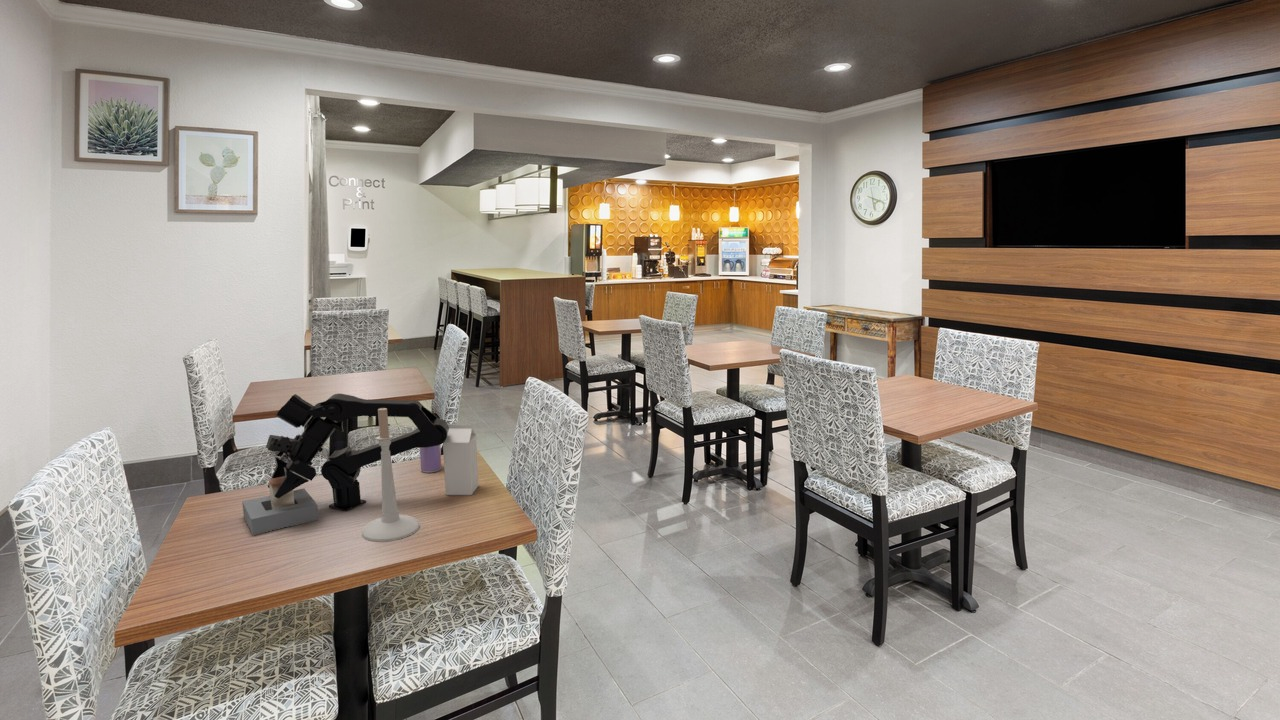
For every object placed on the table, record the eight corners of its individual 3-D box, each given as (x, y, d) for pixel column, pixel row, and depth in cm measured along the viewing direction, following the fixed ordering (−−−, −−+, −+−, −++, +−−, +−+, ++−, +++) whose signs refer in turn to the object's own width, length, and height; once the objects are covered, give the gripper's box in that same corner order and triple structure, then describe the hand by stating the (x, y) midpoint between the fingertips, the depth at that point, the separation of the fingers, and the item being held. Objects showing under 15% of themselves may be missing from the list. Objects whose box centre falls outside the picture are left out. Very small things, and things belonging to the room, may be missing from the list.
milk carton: (471, 495, 173) (468, 427, 170) (445, 495, 173) (441, 427, 170) (478, 486, 180) (475, 420, 177) (453, 486, 180) (449, 420, 177)
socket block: (305, 502, 168) (304, 488, 167) (318, 519, 157) (317, 504, 157) (243, 516, 159) (242, 501, 159) (253, 535, 149) (251, 519, 148)
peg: (292, 513, 161) (288, 475, 160) (296, 518, 158) (292, 480, 156) (272, 517, 159) (268, 479, 157) (275, 523, 155) (271, 484, 154)
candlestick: (396, 545, 144) (387, 415, 139) (349, 537, 147) (338, 411, 142) (430, 522, 156) (423, 402, 151) (386, 516, 159) (377, 399, 154)
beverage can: (435, 474, 189) (432, 425, 187) (417, 472, 191) (414, 424, 188) (445, 467, 195) (442, 420, 193) (427, 466, 196) (424, 419, 194)
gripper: (277, 415, 164) (235, 468, 159) (292, 428, 149) (247, 487, 145) (315, 437, 170) (277, 488, 165) (333, 451, 156) (292, 508, 151)
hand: (272, 492), depth 156 cm, fingers open, 9 cm apart
